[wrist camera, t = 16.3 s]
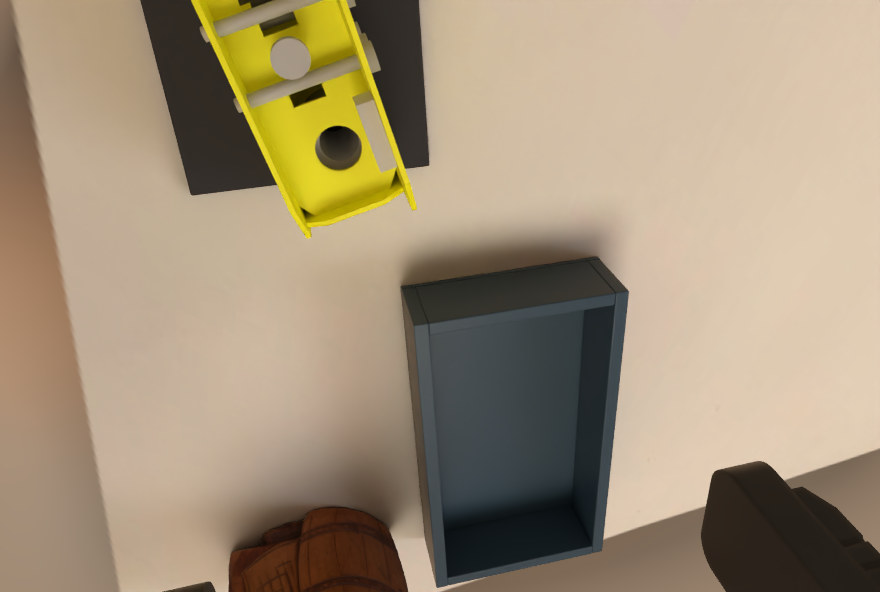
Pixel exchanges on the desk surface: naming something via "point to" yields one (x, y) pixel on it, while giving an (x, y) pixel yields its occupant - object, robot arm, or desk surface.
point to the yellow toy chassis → (309, 103)
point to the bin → (514, 413)
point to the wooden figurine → (321, 557)
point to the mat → (226, 130)
